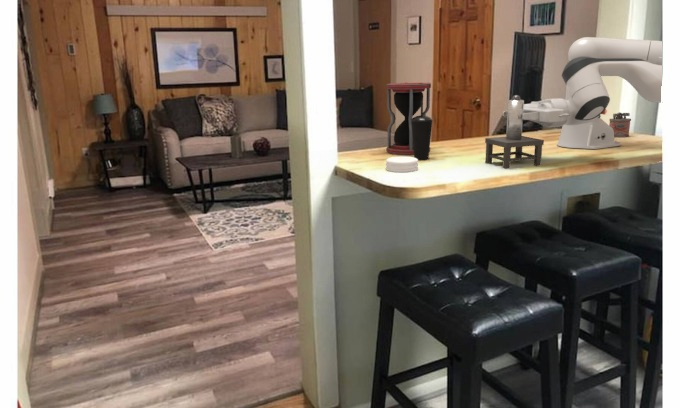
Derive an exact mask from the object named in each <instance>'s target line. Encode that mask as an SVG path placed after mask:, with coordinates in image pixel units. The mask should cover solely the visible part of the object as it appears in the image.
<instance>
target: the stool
mask: <svg viewBox="0 0 680 408" xmlns="http://www.w3.org/2000/svg"><path fill="white" fill-rule="evenodd" d="M484 139H485V140H484V141H485V142H484V143H485V163H486V164H492V163H493V159H494V160H499V161H502V169H505V170H507V169H511V162H519V161H520V162H521V161H530V160H531V161H532V160H533V166H535V167H541V166H542V153H543V146H544V141H545V140H544V139H539V138H534V137H530V136H529V137H528V136H526V135H524V136H523V135H522V138H521V140H507V139H506V136H497V137H494V136H493V137H484ZM493 146H497V147H502V148H503V152H496V153H493V151H494V150H493V149H494V147H493ZM523 147H534V152H533V153H534V154H531V153H527V152H523ZM512 148H515V151H512ZM513 155H514V157H512V156H513ZM511 157H512V158H511Z"/></svg>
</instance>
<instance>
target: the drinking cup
mask: <svg viewBox="0 0 680 408" xmlns="http://www.w3.org/2000/svg"><path fill="white" fill-rule="evenodd" d="M423 112H424V99H423V100H421V107H420V114H419V115H416V116H413V117H412V119H410V121H411V125H412V137H413V148H414V155H413V157H414V158H417V159H418V161H426V160H429V158H430V157H429V156H430V152H429V149H430V150H431V139H432V138H431V137H432V127H433V121H434V119H433V118H432V117H430V116H428V115H426V116H424V115H423Z"/></svg>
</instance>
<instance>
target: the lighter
mask: <svg viewBox="0 0 680 408" xmlns="http://www.w3.org/2000/svg"><path fill="white" fill-rule="evenodd" d="M630 116H631V115H630V112H617V113H613V114H612V117H613V118H609V124H608V125H609V126H610V127H612V128H613V130H614V139H615V138H616V139H617V138H624V139H625V138H630V127H631V121H632V119H631V118H627V117H630Z"/></svg>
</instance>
